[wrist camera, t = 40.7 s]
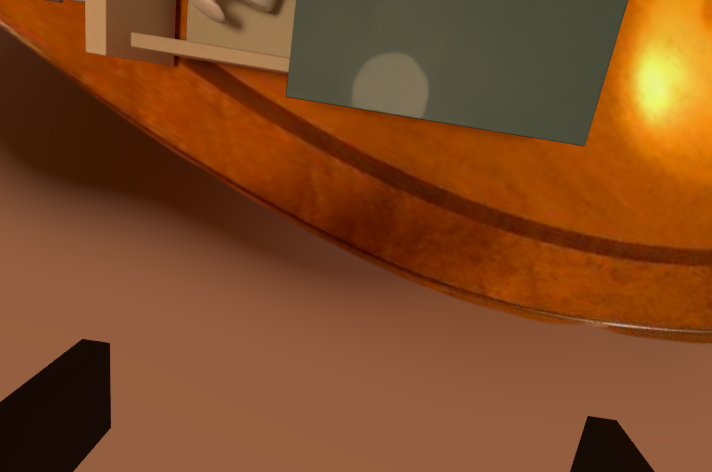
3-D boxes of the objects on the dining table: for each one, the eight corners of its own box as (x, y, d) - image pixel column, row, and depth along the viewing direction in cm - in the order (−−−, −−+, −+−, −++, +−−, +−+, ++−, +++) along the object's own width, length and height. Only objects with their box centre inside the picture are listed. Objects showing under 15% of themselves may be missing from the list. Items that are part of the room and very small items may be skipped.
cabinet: (314, 97, 36) (285, 96, 26) (340, -108, 32) (318, -205, 22) (528, 132, 35) (585, 146, 25) (581, -70, 31) (673, -150, 21)
